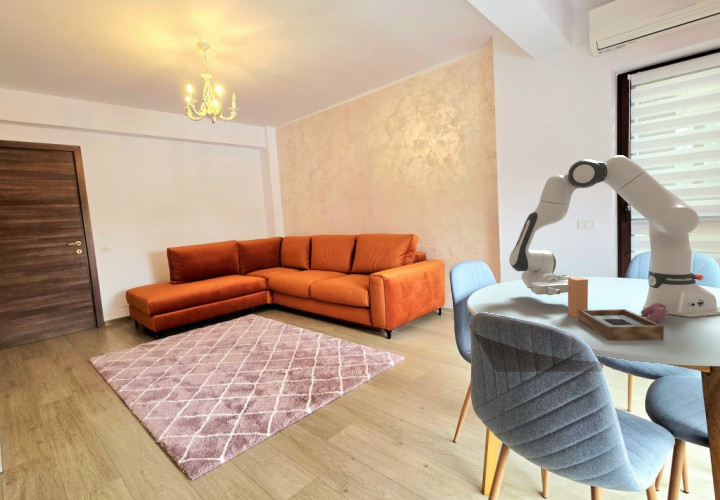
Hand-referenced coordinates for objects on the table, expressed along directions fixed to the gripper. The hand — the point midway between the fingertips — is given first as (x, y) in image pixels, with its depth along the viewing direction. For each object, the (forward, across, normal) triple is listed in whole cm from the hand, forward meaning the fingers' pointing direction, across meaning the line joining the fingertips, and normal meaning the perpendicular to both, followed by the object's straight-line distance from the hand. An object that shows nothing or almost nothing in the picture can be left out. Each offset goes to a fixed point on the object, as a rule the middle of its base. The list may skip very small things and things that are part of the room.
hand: (570, 291), depth 130 cm
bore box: (+20, +2, +8) cm, 22 cm away
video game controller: (+14, +20, +9) cm, 26 cm away
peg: (+4, 0, +8) cm, 9 cm away
